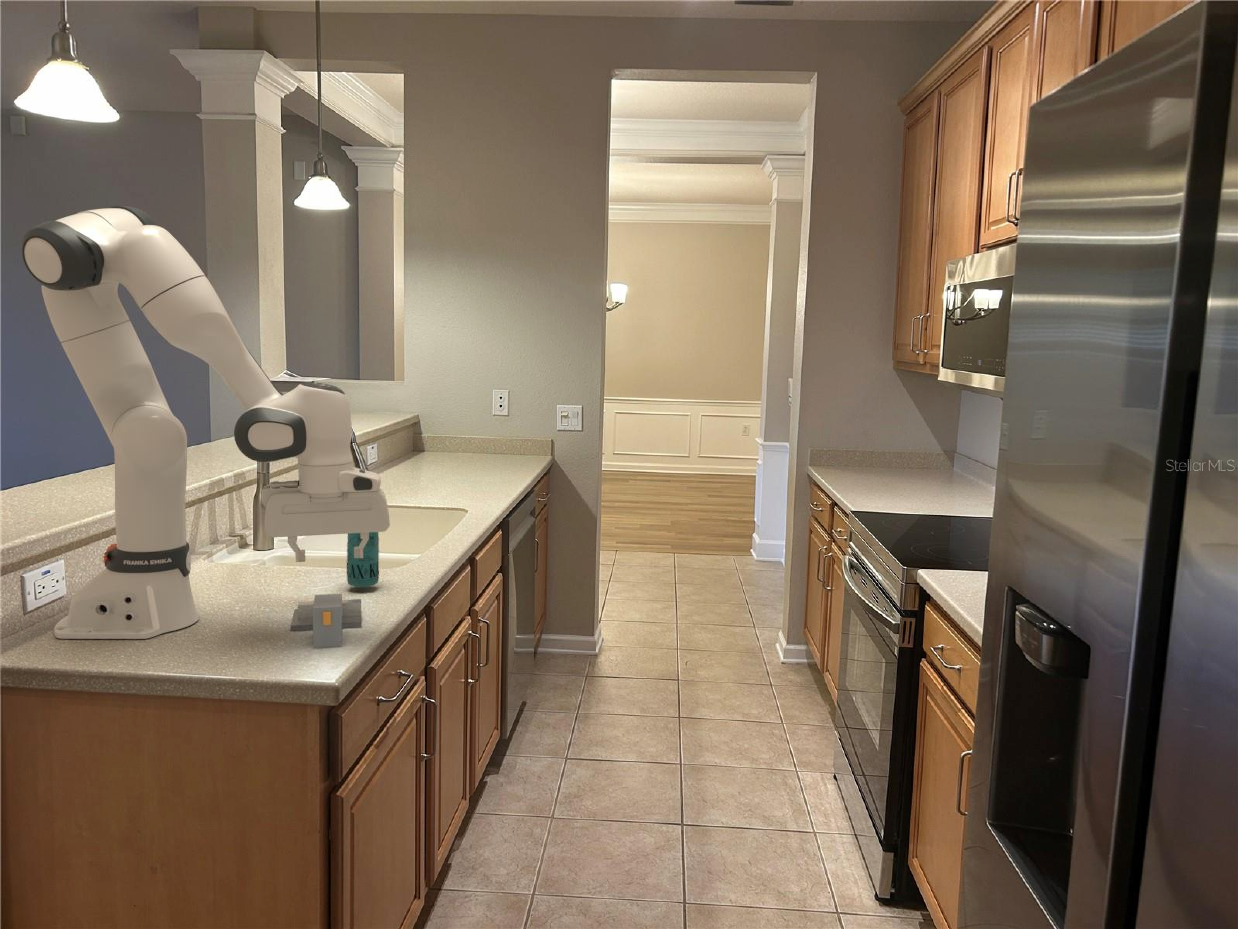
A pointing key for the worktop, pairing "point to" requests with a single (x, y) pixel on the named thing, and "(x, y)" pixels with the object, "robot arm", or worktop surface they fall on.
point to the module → (327, 621)
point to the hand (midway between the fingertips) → (330, 559)
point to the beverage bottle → (363, 561)
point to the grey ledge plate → (305, 615)
